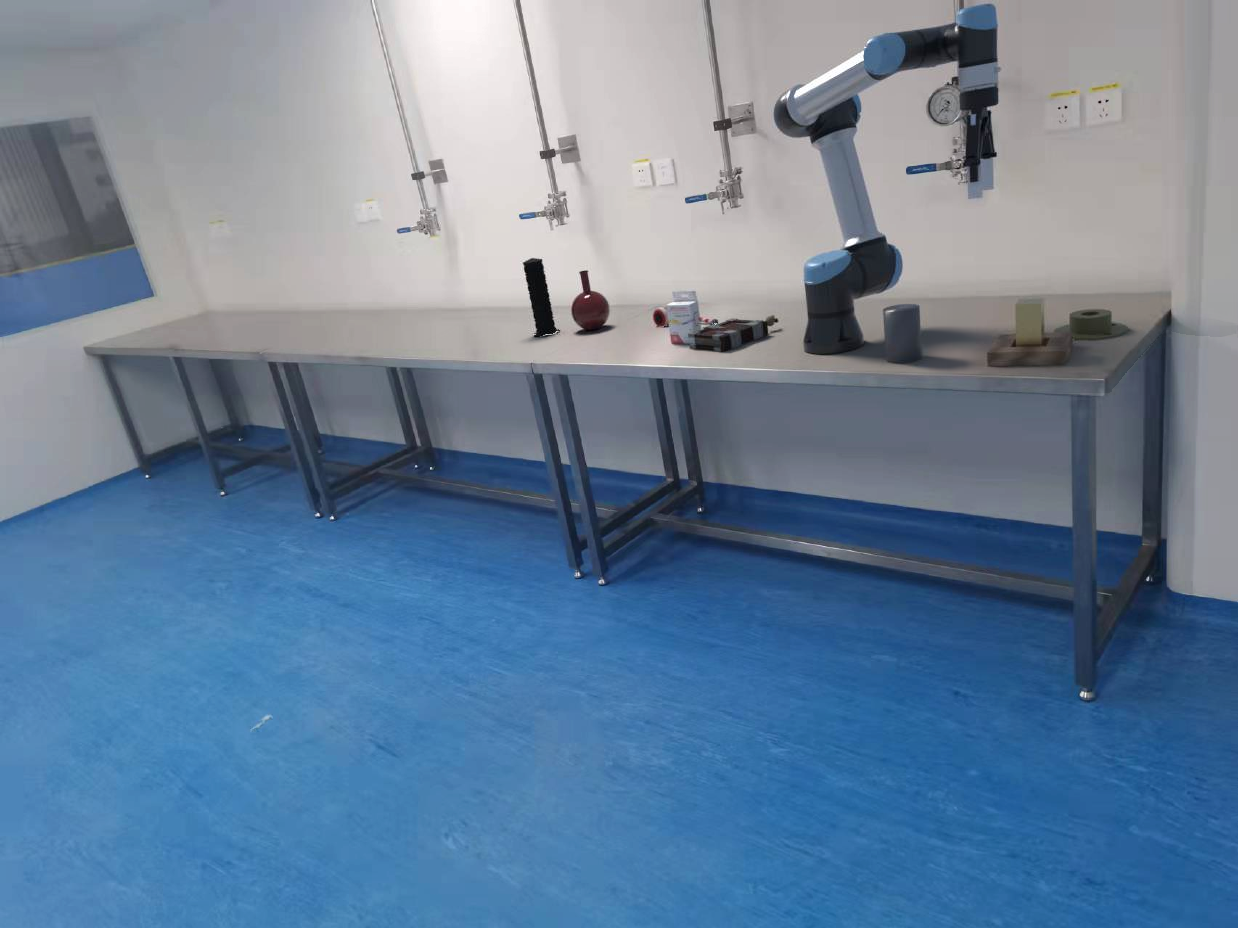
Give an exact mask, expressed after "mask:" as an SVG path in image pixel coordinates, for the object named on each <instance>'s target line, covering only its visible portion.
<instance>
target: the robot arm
mask: <svg viewBox="0 0 1238 928" xmlns="http://www.w3.org/2000/svg"><path fill="white" fill-rule="evenodd" d="M998 27H999V24H998V18H997V8H996V6H995V4H993V3H984V4H982V3H981V4H978V5H973V6H968V7H964V8H962V9H959V10H958V11H957V13H956V20H955V21H954V22H952V23H947V24H944V25H940V26H939V25H938V26H933V27H927V28H920V29H919V28H918V29H911V30H906V31H899V32H898V31H897V32H885V33H883V34H879V35H876V36H873V37H871V38H870V39H869V40H868V41H867V43H866V45H864V48H863V50H861V51H859V52H858V53H857V54H855V55H852V56H851V57H850V58H848V59H846V60H844V61H843V62H841V63H839V64H838V65H837V66H835V67H833V68H831V69H830V70H828V71H826V72H825V73H823V74H821V75H819V76H818V77H816V78H815V79H813V80H811V81H809V82H808V83H806V84H800V83H799V84H796V85H794V86H793V87H791V88H790V89H788V90H786V91H785V92H783V93H782V94H781V95H780V96H779V97H778V99H777V100H776V102H775V105H774V108H773V120H774V123H775V126H776V127H777V129H779V131H780V132H781V133H782V134H783V135H785V136H787V137H789V138H794V139H797V138H798V139H800V138H807V137H809V140H810V144H811V147H812V148H814V149H816V150H817V151H819V153H820V158H821V160H822V165H823V168H824V172H825V174H826V178H827V183H828V187H829V191H830V194H831V198H832V202H833V205H834V208H835V213H836V216H837V219H838V220H837V221H838V224H839V227H840V230H841V231H840V232H841V236H842V239H843V244H842V245H841V247H840V249H838V250H831V251H828V252H823V253H820V254H816V255H815V256H812V257H811V258H809V259H807V260H806V261H805V263H804V265H803V278H802V279H803V283H804V291H805V292H804V293H805V300H806V312H807V323H806V327H805V331H804V335H803V343H802V344H803V351H804V352H806V353H808V354H809V353H810V354H817V355H819V354H821V355H824V354H825V355H826V354H827V355H828V354H839V353H844V352H848V351H851V350H853V351H854V350H857V349H858V348H860V347H862V346H864V343H865V340H864V339H865V338H864V337H865V335H864V333H863V331H862V328H861V326H860V324H859V321H858V319H857V317H856V313H855V312H856V311H855V302H854V300H859V299H862V298H864V297H865V298H866V297H868V296H872V295H878V294H882V293H883V292H885V291H888V290H891V289H892V288H893V287H895V286H896V285H897V284H898V282H899V281H900V277H901V276H902V273H903V267H904V266H903V264H904V263H903V258H902V257H903V256H902V253H901V252H900V249H898V248H896V245H894V244H892V243H888V239H887V236H886V235H885V234H884V233H882V232H881V231H879V230H878V227H877V223H876V219H875V216H874V212H873V209H872V204H871V201H870V197H869V194H868V190H867V186H866V181H865V178H864V176H863V175H864V174H863V172H862V167H861V164H860V160H859V156H858V152H857V149H856V144H855V142H854V141H855V140H854V138H855V136H856V134H857V132H858V127H857V125H858V123H859V122H860V119H861V113H862V102H861V99H860V95H859V93H861V92H864V91H865V90H867V89H869V88H871V87H873V86H875V85H876V84H878V83H880V82H881V81H883V80H885V79H887V78H889V77H891V76H893V75H895V74H897V73H900V72H903V71H904V72H905V71H910V70H916V69H924V68H925V69H929V68H935V67H937V66H940V65H945V64H946V65H947V64H950V63H953V62H954V63H955V62H957V65H958V67H957V68H958V70H957V71H958V72H957V74H958V75H957V76H958V77H957V78H958V79H957V80H958V89H959V90H961V92H960V93H959V94H958V95H959V96H958V98H959V103H958V104H959V110H960V111H961V112H966V111H970V114H969V115H967V116H966V117H965V118H966V137H965V153H964V154H965V156H964V162H962V167H963V168H966V170H967V175H966V176H967V199H968V200H971V199H980V198H981V199H982V198H983V191H991V190H994V189H995V187H994V185H995V180H994V176H995V175H994V158H997V157H998V155H997V154H998V153H997V151H996V149H995V143H994V142H995V141H994V134H993V124H992V110H991V109H989V110H988V108H989V107H994V106H998V104H999V101H1000V100H999V87H998V86H997V85H995V84H997V83H998V82H999V80H998V79H999V76H998V75H999V73H1001V70H1002V68H1001V66H998Z"/></svg>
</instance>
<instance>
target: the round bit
mask: <svg viewBox="0 0 1238 928" xmlns="http://www.w3.org/2000/svg"><path fill="white" fill-rule="evenodd" d="M920 309H921V307H920V305H919V304H916V303H904V304H903V303H902V304H895V305H890V306H887V307H885V308H883V309H882V316H883V317H882V318H883V319H882V320H883V329H884V330H883V331H884V332H883V333H884V334H883V335H884V345H885V346H884V347H885V362H887V363H889V364H897V365H899V364H900V365H901V364H902V365H903V364H909V363H916V362H918V361H920V360H922V359H923V348H922V330H921V329H922V328H921V310H920Z"/></svg>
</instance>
